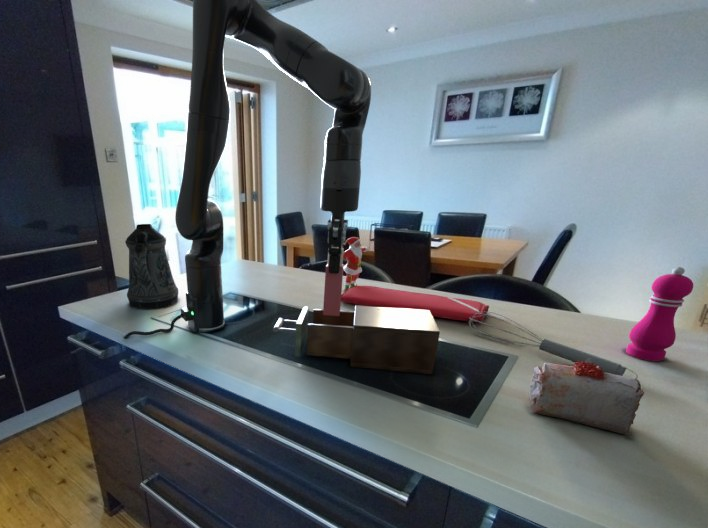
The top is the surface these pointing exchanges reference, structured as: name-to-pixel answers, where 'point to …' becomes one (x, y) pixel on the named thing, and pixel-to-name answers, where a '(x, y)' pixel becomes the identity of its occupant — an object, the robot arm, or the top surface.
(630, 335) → the pepper mill
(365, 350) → the cabinet
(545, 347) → the kitchen whisk
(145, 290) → the beer stein
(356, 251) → the santa figurine
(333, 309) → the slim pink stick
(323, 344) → the drawer
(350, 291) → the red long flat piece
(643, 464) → the top surface
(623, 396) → the food item
